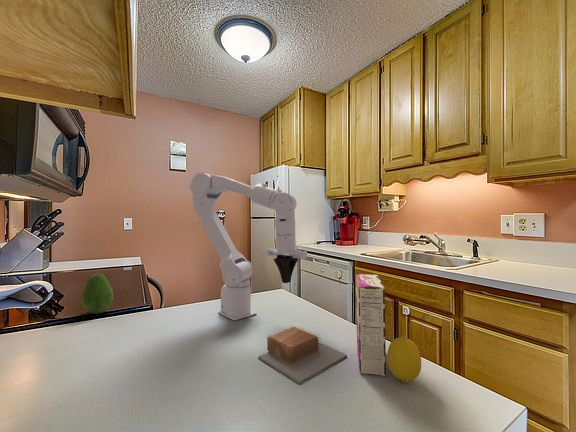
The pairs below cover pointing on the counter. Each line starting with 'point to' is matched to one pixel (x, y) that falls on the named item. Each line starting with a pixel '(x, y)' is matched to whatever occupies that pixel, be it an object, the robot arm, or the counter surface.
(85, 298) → the avocado
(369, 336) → the candy bar box
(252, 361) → the counter surface
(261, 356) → the mat
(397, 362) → the lemon
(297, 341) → the wooden block
